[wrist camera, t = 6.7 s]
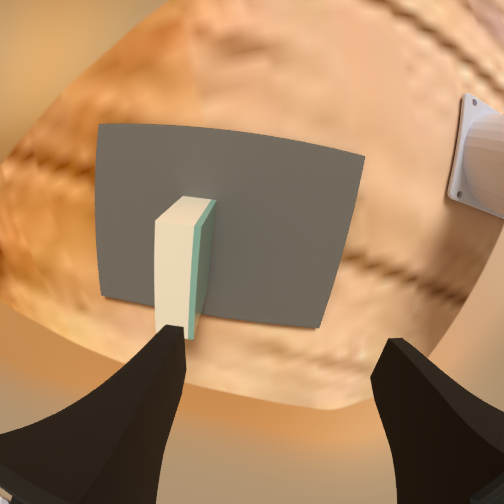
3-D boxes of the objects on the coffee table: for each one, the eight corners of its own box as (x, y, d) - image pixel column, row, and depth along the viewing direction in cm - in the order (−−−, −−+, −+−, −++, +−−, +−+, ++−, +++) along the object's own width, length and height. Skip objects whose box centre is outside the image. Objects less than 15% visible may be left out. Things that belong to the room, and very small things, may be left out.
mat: (362, 155, 15) (365, 156, 15) (318, 324, 20) (319, 328, 20) (101, 123, 15) (98, 123, 14) (103, 292, 19) (101, 295, 19)
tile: (216, 200, 16) (201, 226, 12) (207, 290, 19) (193, 339, 14) (182, 195, 16) (154, 220, 12) (177, 286, 18) (156, 333, 14)
